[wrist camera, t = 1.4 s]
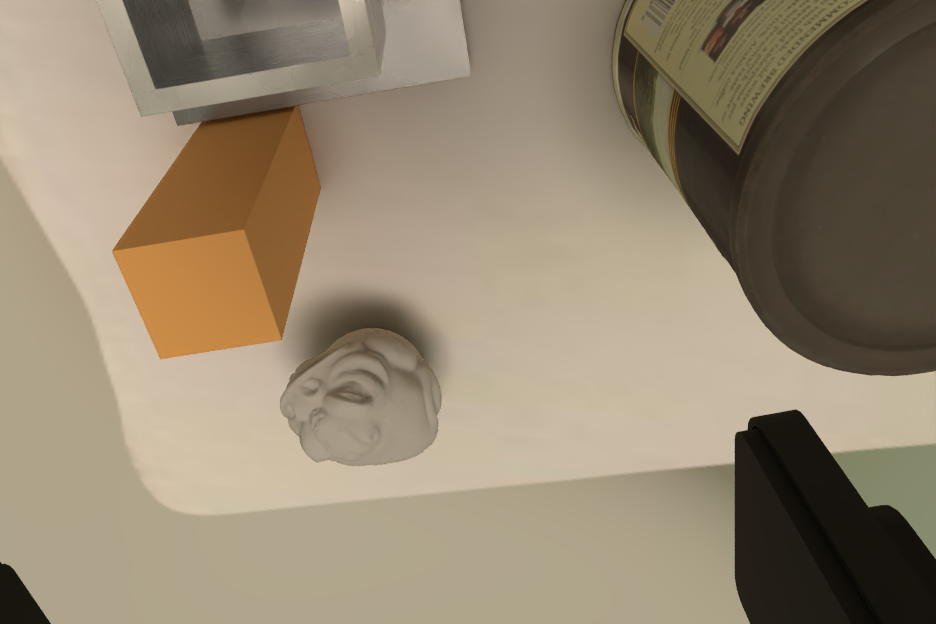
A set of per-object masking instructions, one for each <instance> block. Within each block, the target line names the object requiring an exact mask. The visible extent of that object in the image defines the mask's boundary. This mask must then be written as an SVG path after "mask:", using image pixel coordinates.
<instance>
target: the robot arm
mask: <svg viewBox="0 0 936 624" xmlns="http://www.w3.org/2000/svg"><path fill="white" fill-rule="evenodd" d="M735 581H736V586H737V591H738V595H739V598H740V601H741V603H742V606H743V608H744V611H745V613H746V615H747V617H748V620H749V622H750V624H936V559H935V558H934V556H933V555H932V554H931V553H930V551H929V550H928V548H927V547H926V546H925V545H924V543H923V542H922V540H921V539H920V538H919V536H918V535H917V534H916V532H915V531H914V530H913V528H912V527H911V526H910V524H909V523H908V522H907V520H906V519H905V518H904V517H903V516H902V515H901V514H900V513H899V512H898V510H896V509H894V508H893V507H891V506H889V505H880V506H874V507H869V508H868V506H867V505H866V503H865V502H864V501H863V499H862V498H861V496H860V495H859V493H858V492H857V490H856V489H855V488H854V486H853V485H852V483H851V482H850V481H849V479H848V478H847V476H846V475H845V473H844V472H843V470H842V469H841V468H840V466H839V465H838V463H837V462H836V461H835V459H834V458H833V456H832V455H831V453H830V452H829V451H828V449H827V448H826V446H825V445H824V443H823V442H822V441H821V439H820V438H819V436H818V435H817V433H816V432H815V431H814V429H813V428H812V426H811V425H810V424H809V422H808V421H807V419H806V418H805V417H804V415H803V414H802V413H801V412H800V411H798V410H791V411H785V412H780V413H774V414H769V415H763V416H758V417H753V418H750V420H749V422H748V430H747V431H741V432H737V433H736V435H735ZM0 624H51V623H50V622H49V620H48V619H47V618H46V616H45V615H44V613H43V612H42V610H41V609H40V607H39V606H38V605H37V603H36V602H35V600H34V599H33V597H32V596H31V594H30V593H29V591H28V590H27V588H26V587H25V585H24V584H23V582H22V581H21V579H20V578H19V577H18V575H17V574H16V572H15V571H14V569H12V568H11V566H9V565H6V564H2V563H1V562H0Z"/></svg>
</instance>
